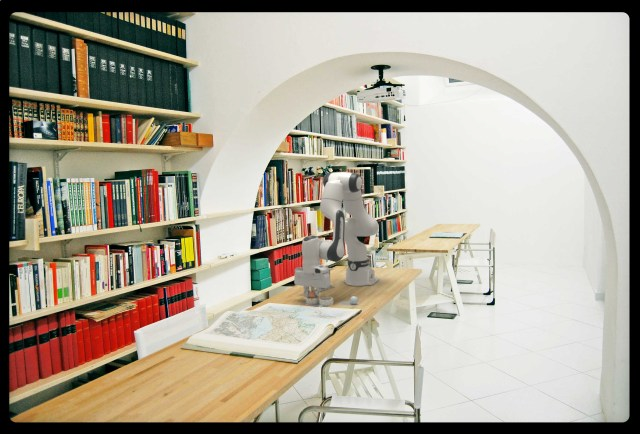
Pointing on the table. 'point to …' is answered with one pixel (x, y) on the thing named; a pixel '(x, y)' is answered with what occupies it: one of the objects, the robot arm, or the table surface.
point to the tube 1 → (312, 300)
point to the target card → (314, 304)
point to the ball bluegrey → (353, 300)
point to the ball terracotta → (312, 294)
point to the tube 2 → (326, 301)
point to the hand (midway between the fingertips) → (312, 295)
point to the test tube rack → (316, 287)
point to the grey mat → (348, 303)
